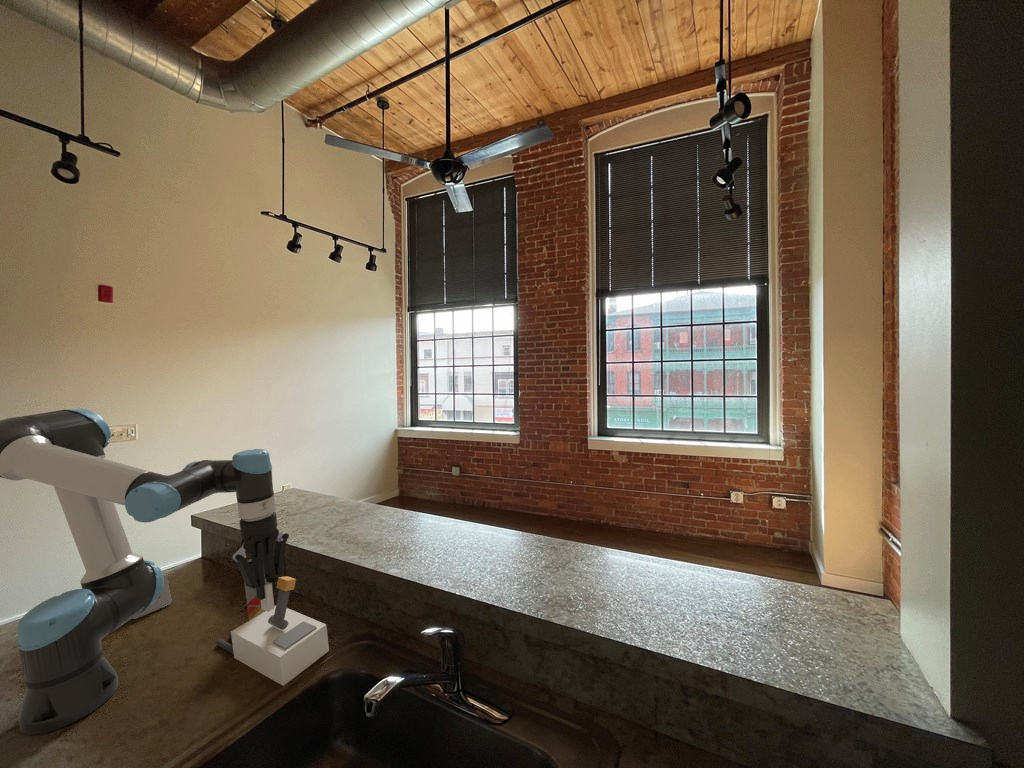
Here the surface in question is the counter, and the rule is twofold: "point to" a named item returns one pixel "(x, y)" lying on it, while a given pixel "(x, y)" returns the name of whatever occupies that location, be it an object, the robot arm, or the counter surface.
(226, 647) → the parallel rod pair
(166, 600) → the electrical switch
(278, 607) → the lever
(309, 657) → the block
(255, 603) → the lotion bottle
